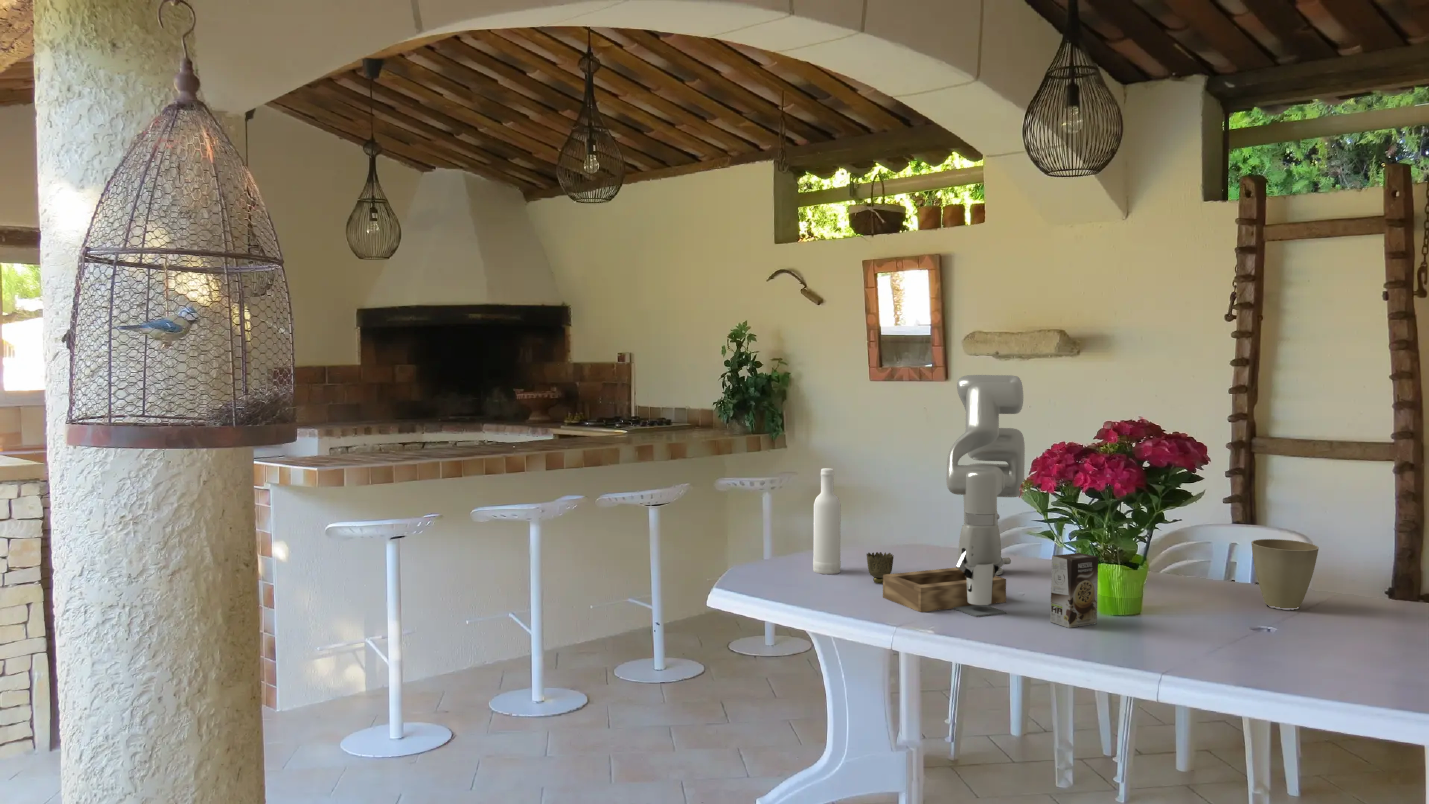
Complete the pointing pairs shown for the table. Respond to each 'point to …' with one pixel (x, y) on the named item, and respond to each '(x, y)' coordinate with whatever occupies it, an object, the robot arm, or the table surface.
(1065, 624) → the coffee box
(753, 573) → the table surface
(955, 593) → the crate
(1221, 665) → the table surface
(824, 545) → the bottle
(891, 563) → the cup
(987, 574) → the white tumbler
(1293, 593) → the plant pot
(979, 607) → the coaster
